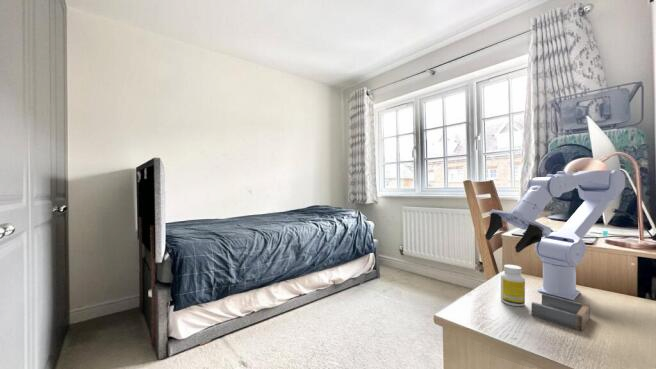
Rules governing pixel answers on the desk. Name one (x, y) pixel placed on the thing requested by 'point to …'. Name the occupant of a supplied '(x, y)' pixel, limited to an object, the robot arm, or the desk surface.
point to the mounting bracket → (562, 311)
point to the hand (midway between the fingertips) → (501, 243)
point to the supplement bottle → (512, 286)
